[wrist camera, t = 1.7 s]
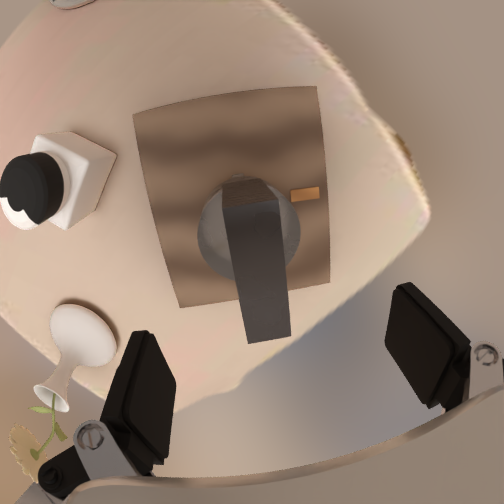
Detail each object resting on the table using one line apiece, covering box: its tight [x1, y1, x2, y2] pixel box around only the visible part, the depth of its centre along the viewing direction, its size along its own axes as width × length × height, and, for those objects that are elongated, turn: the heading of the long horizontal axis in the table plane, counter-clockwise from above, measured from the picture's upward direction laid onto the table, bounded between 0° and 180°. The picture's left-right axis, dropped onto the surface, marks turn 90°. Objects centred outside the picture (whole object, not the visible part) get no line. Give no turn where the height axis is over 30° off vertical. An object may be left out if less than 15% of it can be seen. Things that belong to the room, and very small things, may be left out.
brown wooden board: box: [133, 86, 330, 308], centre depth 25 cm, size 22×18×7 cm
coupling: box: [197, 176, 301, 344], centre depth 18 cm, size 10×7×10 cm
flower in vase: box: [9, 304, 117, 483], centre depth 23 cm, size 13×11×25 cm
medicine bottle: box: [0, 132, 117, 230], centre depth 20 cm, size 7×7×12 cm
